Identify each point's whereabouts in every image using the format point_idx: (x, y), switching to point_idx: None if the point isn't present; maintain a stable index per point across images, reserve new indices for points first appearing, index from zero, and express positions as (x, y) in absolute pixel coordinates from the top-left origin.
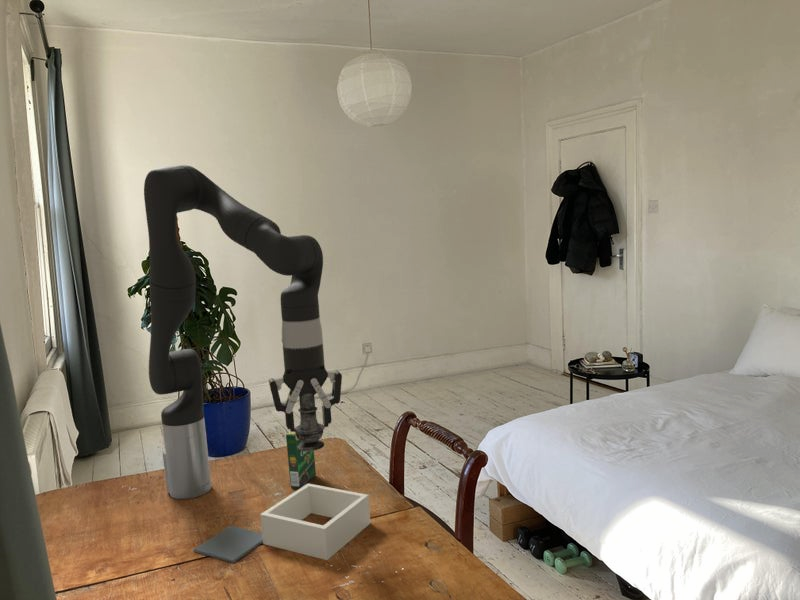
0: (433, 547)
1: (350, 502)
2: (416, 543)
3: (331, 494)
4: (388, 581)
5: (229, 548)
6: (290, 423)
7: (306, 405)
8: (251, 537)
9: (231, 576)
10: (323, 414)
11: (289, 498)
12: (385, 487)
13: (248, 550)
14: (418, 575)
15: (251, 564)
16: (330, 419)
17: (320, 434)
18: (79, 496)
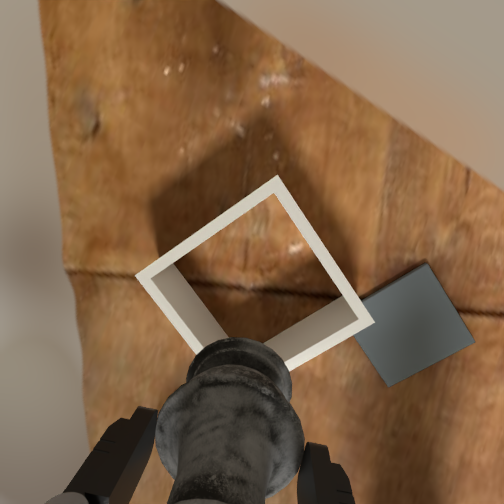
0: (88, 109)
1: (176, 296)
2: (111, 141)
3: (202, 338)
4: (206, 42)
5: (419, 309)
6: (334, 484)
7: None
8: (371, 325)
9: (444, 220)
10: (128, 479)
11: (293, 357)
12: (85, 371)
13: (390, 284)
14: (150, 30)
15: (399, 240)
16: (109, 433)
17: (195, 378)
18: None
